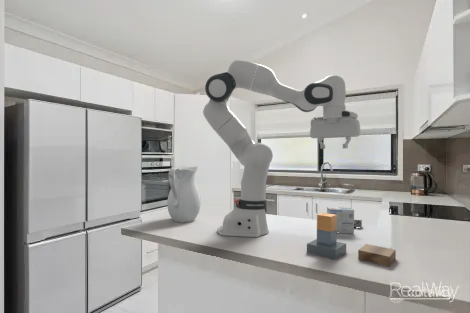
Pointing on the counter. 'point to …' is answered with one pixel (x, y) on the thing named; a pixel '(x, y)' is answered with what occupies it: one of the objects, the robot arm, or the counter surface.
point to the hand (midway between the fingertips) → (333, 148)
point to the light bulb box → (343, 218)
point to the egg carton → (357, 223)
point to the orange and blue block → (326, 229)
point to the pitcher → (183, 194)
